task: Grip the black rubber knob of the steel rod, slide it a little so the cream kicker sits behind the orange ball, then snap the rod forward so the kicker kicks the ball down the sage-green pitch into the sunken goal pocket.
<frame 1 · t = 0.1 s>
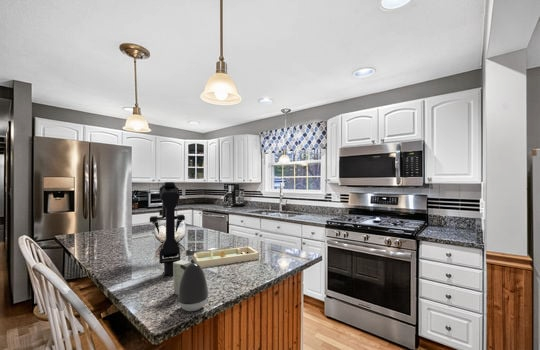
hand: (167, 233, 145), 15 cm above the kitchen island, fingers open, 9 cm apart
skincare box: (182, 293, 99), on the kitchen island
pitch: (225, 259, 142), on the kitchen island
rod: (208, 253, 139), point 4 cm above the kitchen island, slide at 0.0 cm
ball: (222, 254, 143), point 3 cm above the kitchen island, touching pitch
pump dispenser: (193, 308, 87), on the kitchen island
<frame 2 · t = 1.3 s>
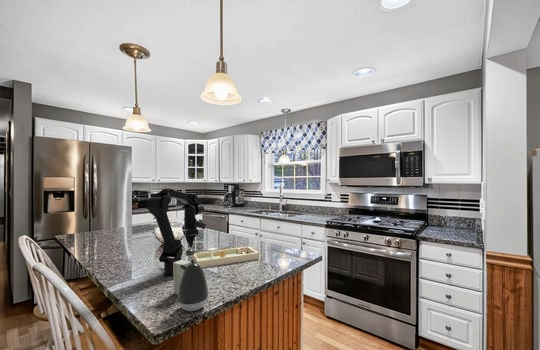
hand: (189, 245, 135), 10 cm above the kitchen island, fingers open, 9 cm apart
nothing on the kitchen island moved.
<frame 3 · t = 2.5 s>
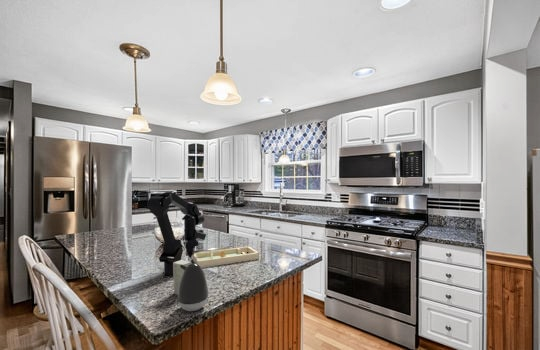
hand: (189, 256, 135), 4 cm above the kitchen island, fingers closed on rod, 3 cm apart
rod: (208, 253, 139), point 4 cm above the kitchen island, slide at 0.0 cm, touching gripper
everything else where it was.
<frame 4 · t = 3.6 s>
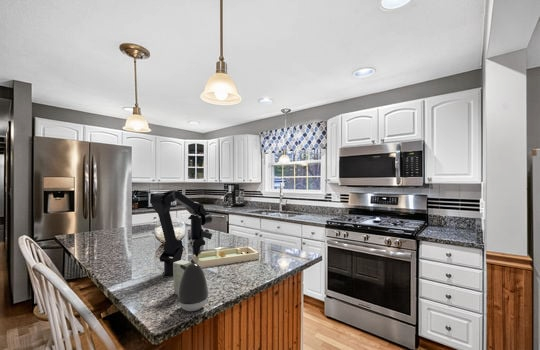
hand: (196, 255, 136), 4 cm above the kitchen island, fingers closed on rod, 3 cm apart
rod: (214, 252, 141), point 4 cm above the kitchen island, slide at 3.4 cm, touching gripper
everything else where it was.
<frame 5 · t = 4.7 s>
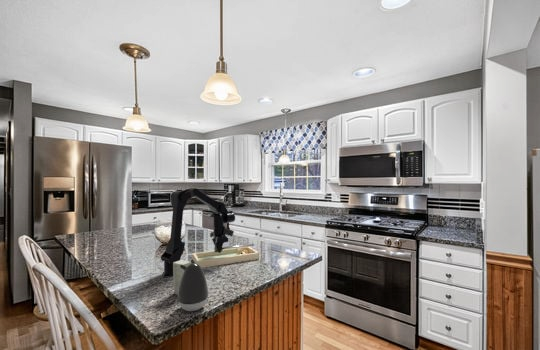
hand: (218, 252, 142), 4 cm above the kitchen island, fingers closed on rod, 3 cm apart
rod: (235, 249, 146), point 4 cm above the kitchen island, slide at 15.4 cm, touching gripper
ball: (244, 253, 148), point 2 cm above the kitchen island, tilted 74°
everything else where it was.
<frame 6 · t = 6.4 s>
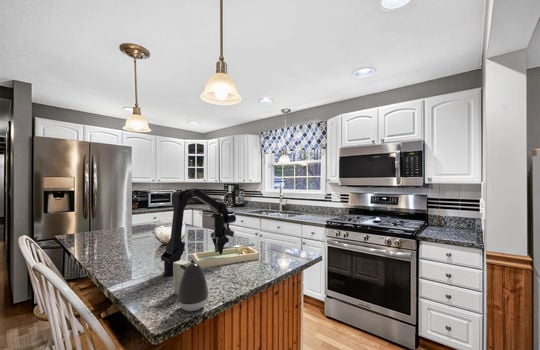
hand: (219, 252, 142), 4 cm above the kitchen island, fingers open, 7 cm apart
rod: (235, 249, 146), point 4 cm above the kitchen island, slide at 15.7 cm
everything else where it was.
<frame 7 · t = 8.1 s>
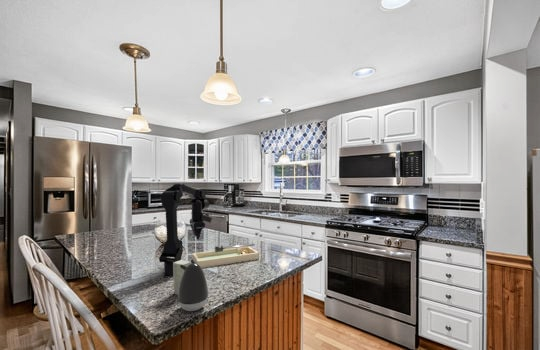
hand: (196, 237, 144), 12 cm above the kitchen island, fingers open, 9 cm apart
ball: (244, 253, 148), point 2 cm above the kitchen island, tilted 81°
everything else where it was.
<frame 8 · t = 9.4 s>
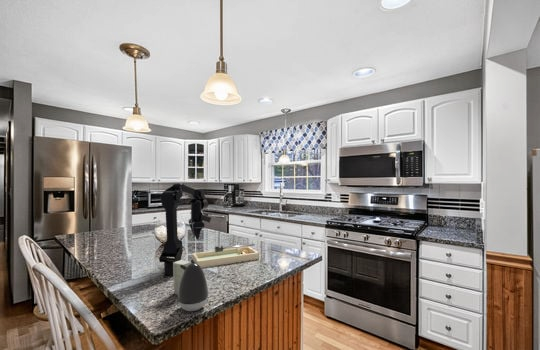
hand: (196, 237, 144), 12 cm above the kitchen island, fingers open, 9 cm apart
nothing on the kitchen island moved.
at the end: ball inside the target area (1.9 cm from its centre), point 1.7 cm above the kitchen island; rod slide at 15.7 cm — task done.
